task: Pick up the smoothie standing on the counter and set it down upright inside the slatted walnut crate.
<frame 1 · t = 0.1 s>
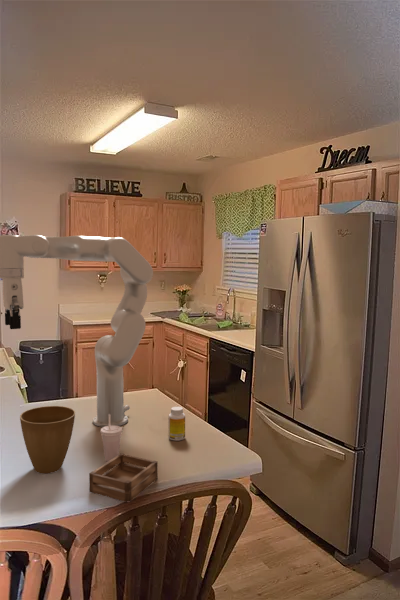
hand: (12, 326, 155), 37 cm above the kitchen counter, tool pointing down, fingers open, 9 cm apart
crate: (124, 485, 127), on the kitchen counter
smoothie: (111, 461, 142), on the kitchen counter
plant pot: (49, 468, 136), on the kitchen counter
supplement bottle: (176, 438, 160), on the kitchen counter
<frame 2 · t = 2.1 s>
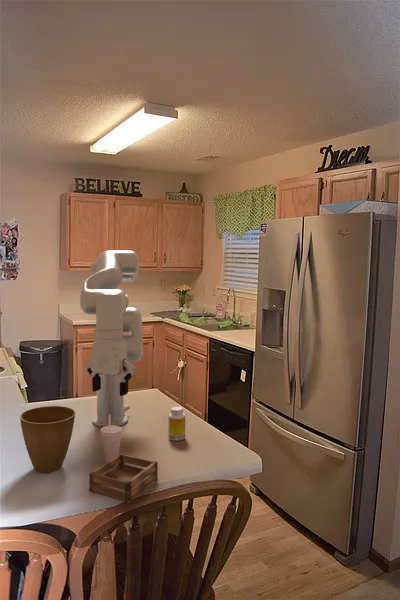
hand: (110, 392, 140), 21 cm above the kitchen counter, tool pointing down, fingers open, 9 cm apart
nothing on the kitchen counter moved.
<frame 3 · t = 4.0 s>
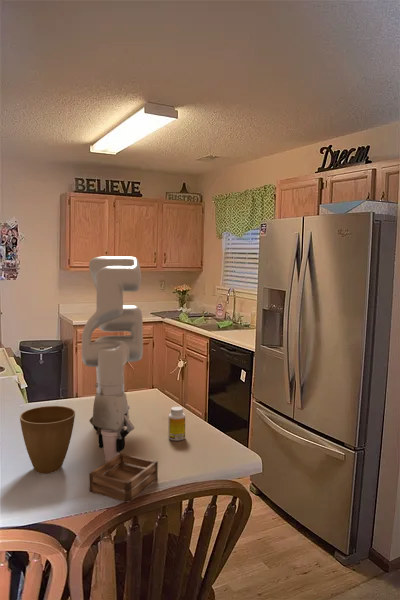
hand: (111, 448, 141), 4 cm above the kitchen counter, tool pointing down, fingers closed on smoothie, 5 cm apart
smoothie: (111, 461, 142), on the kitchen counter, touching gripper
everything else where it was.
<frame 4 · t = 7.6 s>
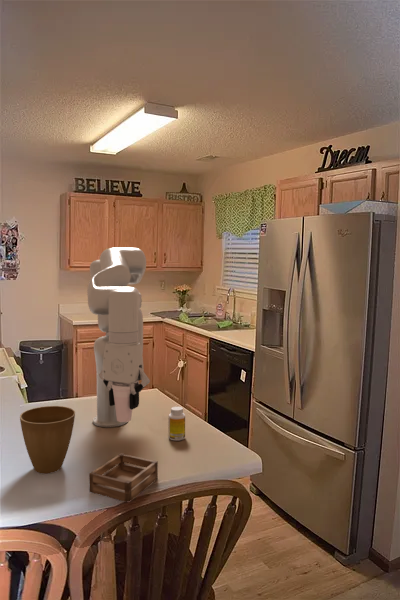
hand: (124, 405, 125), 22 cm above the kitchen counter, tool pointing down, fingers closed on smoothie, 5 cm apart
smoothie: (123, 420, 125), point 18 cm above the kitchen counter, touching gripper
everything else where it was.
when the fingers open (6 cm above the kitchen counter, at t = 10.7 s): smoothie drops 2 cm, resting on crate.
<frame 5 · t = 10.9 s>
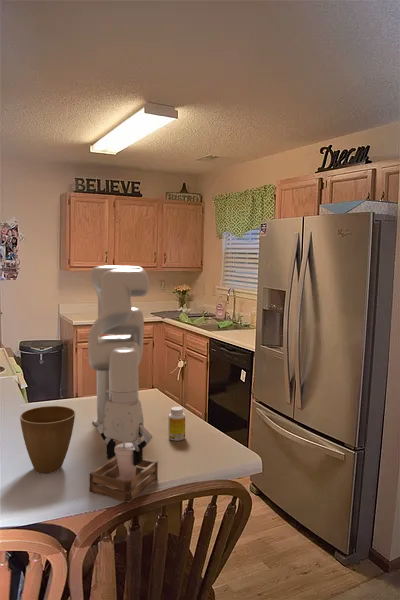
hand: (124, 460, 126), 7 cm above the kitchen counter, tool pointing down, fingers open, 7 cm apart
smoothie: (128, 483, 126), point 1 cm above the kitchen counter, touching crate, gripper
everything else where it was.
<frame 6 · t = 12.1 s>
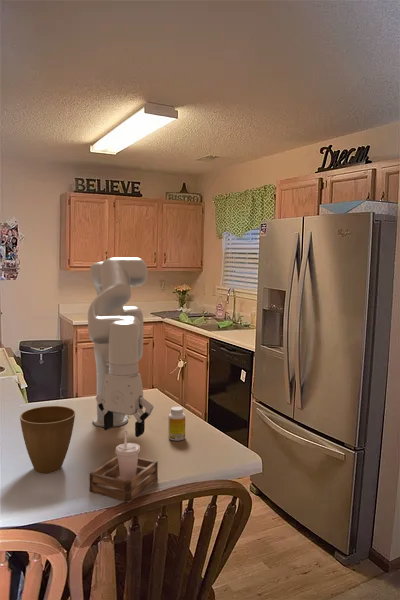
hand: (123, 431, 126), 14 cm above the kitchen counter, tool pointing down, fingers open, 9 cm apart
smoothie: (128, 483, 126), point 1 cm above the kitchen counter, touching crate
everything else where it was.
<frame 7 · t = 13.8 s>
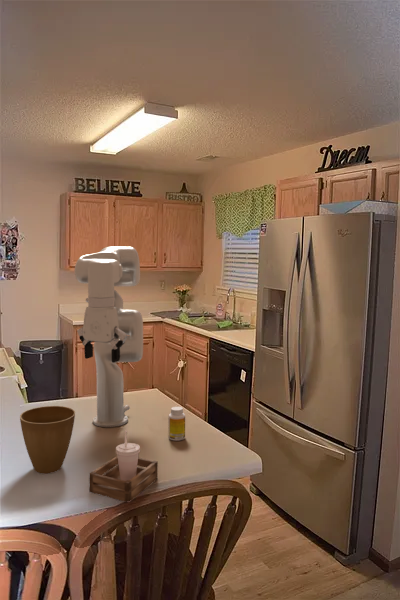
hand: (102, 359, 143), 29 cm above the kitchen counter, tool pointing down, fingers open, 9 cm apart
nothing on the kitchen counter moved.
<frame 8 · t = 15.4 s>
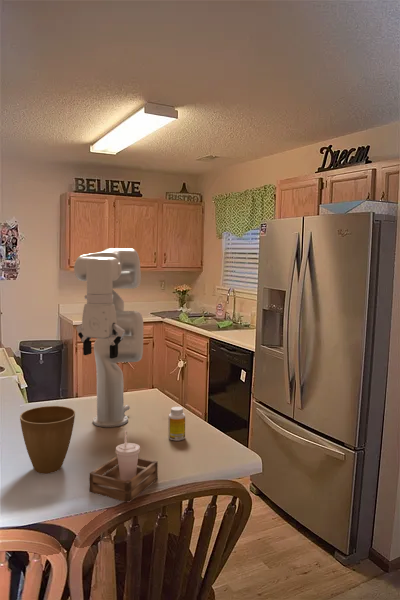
hand: (100, 356, 144), 30 cm above the kitchen counter, tool pointing down, fingers open, 9 cm apart
nothing on the kitchen counter moved.
at the end: smoothie inside the target area on the crate (1.0 cm from its centre), point 0.6 cm above the crate's base; smoothie tilted 0°; the gripper is holding nothing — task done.
